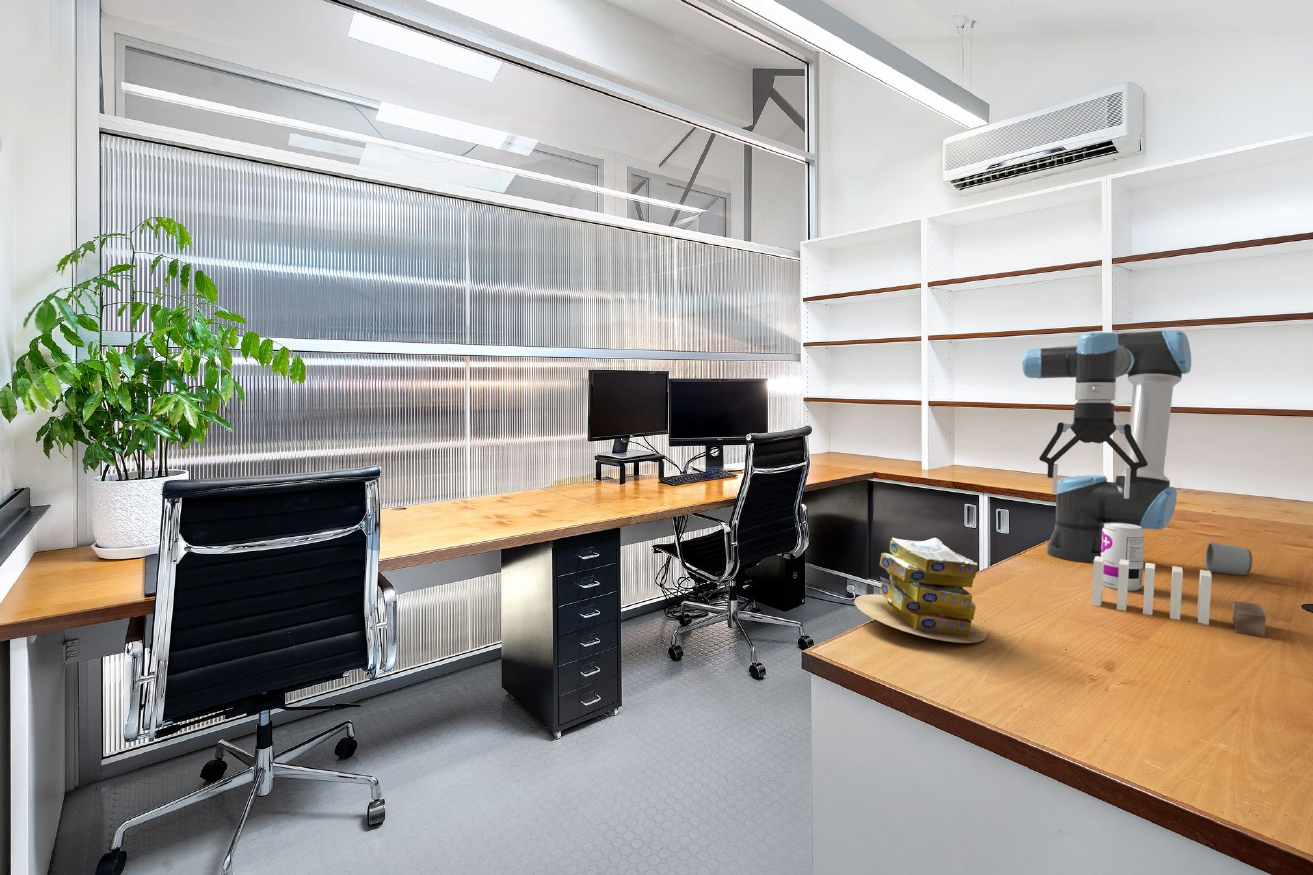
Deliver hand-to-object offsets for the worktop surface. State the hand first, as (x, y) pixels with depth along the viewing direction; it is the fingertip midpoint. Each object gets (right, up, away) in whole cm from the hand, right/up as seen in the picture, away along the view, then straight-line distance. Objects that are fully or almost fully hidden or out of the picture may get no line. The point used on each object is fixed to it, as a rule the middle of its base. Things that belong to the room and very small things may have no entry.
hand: (1089, 495), depth 145 cm
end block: (+19, -25, -18) cm, 36 cm away
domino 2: (+3, -24, -6) cm, 25 cm away
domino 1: (0, -24, -3) cm, 24 cm away
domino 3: (+7, -24, -9) cm, 27 cm away
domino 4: (+10, -24, -11) cm, 29 cm away
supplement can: (+14, -23, +9) cm, 28 cm away
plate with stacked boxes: (-46, -25, -16) cm, 55 cm away
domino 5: (+14, -25, -14) cm, 32 cm away
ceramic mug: (+50, -22, +22) cm, 59 cm away
